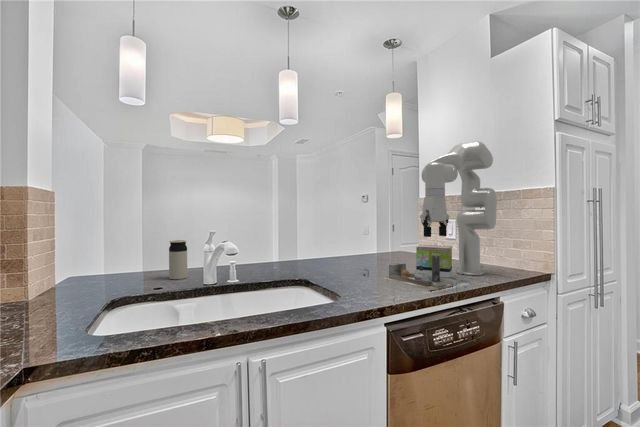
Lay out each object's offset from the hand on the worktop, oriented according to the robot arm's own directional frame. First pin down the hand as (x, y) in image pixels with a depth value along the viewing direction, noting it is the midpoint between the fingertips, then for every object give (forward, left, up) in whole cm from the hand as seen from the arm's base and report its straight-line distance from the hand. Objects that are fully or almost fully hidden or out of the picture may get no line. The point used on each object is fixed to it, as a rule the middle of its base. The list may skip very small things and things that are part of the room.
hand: (435, 236), depth 129 cm
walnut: (0, -16, -20) cm, 25 cm away
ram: (0, -3, -19) cm, 20 cm away
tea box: (-19, -15, -21) cm, 32 cm away
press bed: (0, -10, -21) cm, 23 cm away
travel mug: (+82, -84, -21) cm, 119 cm away
